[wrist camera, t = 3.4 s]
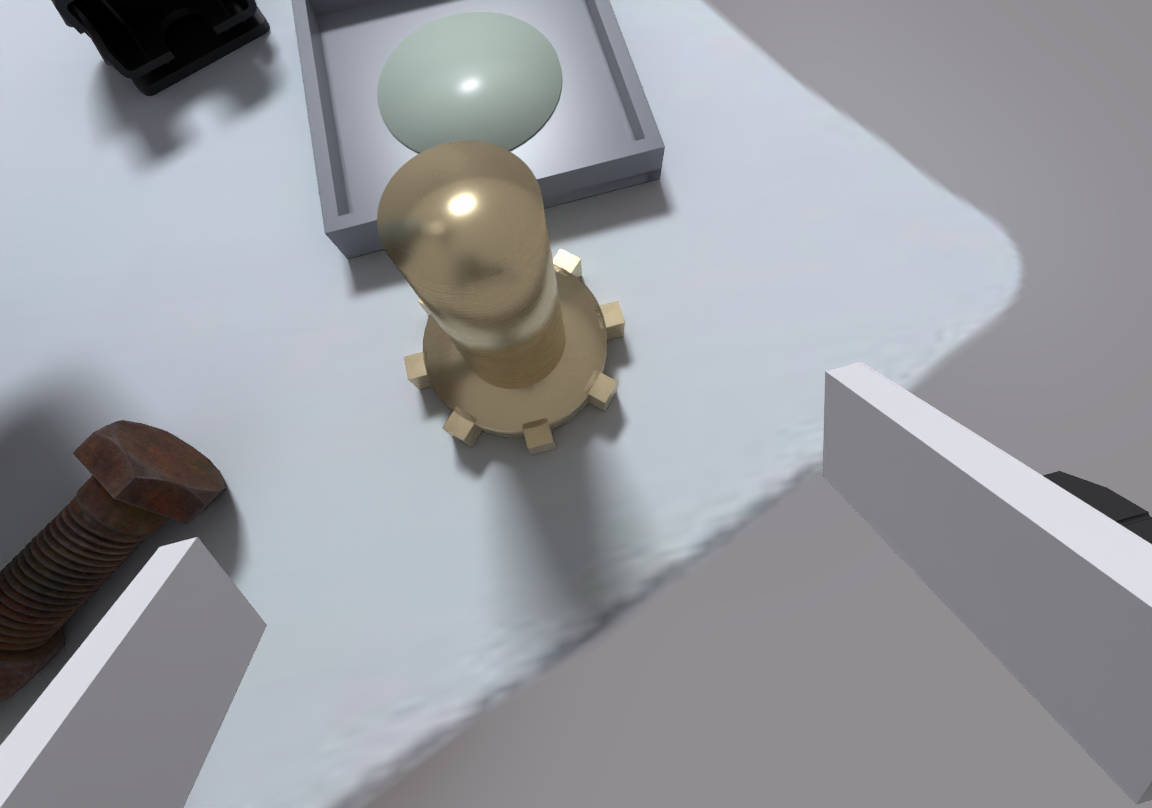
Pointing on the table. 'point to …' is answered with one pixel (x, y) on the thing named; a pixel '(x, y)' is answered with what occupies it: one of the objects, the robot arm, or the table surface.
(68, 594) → the bolt
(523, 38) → the carrier tray
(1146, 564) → the robot arm
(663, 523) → the table surface
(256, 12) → the end cap
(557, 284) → the toothed flange peg
